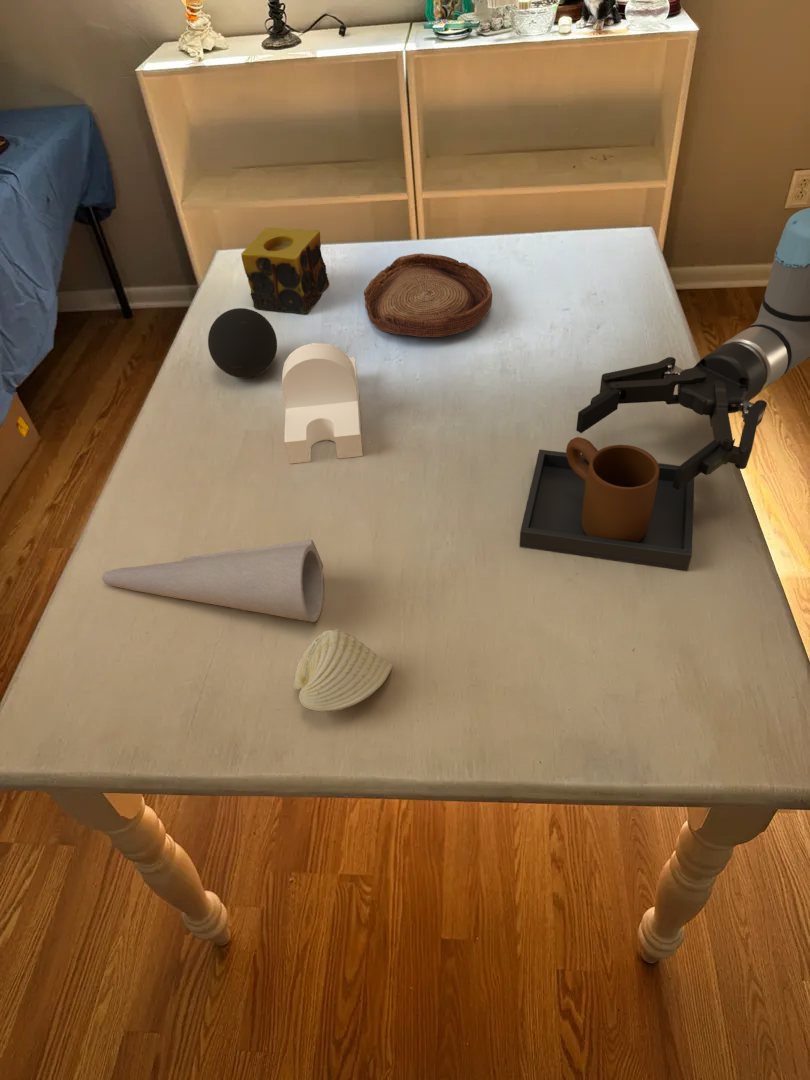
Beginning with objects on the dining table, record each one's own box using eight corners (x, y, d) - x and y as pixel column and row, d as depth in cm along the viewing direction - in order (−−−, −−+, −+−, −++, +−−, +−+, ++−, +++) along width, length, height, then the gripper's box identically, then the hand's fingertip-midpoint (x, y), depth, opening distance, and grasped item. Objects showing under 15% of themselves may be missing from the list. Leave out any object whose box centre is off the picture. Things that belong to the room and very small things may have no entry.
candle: (330, 285, 136) (321, 229, 129) (308, 316, 129) (298, 258, 122) (277, 280, 138) (265, 225, 131) (252, 310, 132) (239, 253, 125)
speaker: (204, 374, 120) (186, 315, 112) (257, 346, 124) (243, 288, 117) (242, 399, 114) (226, 340, 107) (295, 369, 119) (283, 310, 112)
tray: (687, 571, 86) (691, 555, 85) (519, 546, 91) (520, 531, 89) (690, 483, 96) (694, 467, 94) (538, 464, 100) (539, 449, 98)
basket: (347, 295, 133) (343, 268, 129) (454, 266, 137) (453, 238, 134) (397, 362, 118) (395, 333, 115) (515, 326, 123) (516, 298, 119)
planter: (63, 610, 83) (296, 591, 78) (90, 549, 89) (308, 528, 84) (98, 651, 89) (317, 636, 84) (121, 591, 94) (327, 574, 90)
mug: (540, 504, 94) (545, 443, 88) (586, 476, 97) (594, 415, 90) (614, 561, 87) (625, 500, 80) (661, 530, 90) (676, 468, 83)
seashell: (272, 661, 79) (325, 604, 79) (332, 702, 83) (383, 648, 83) (286, 705, 72) (344, 642, 72) (350, 747, 76) (406, 688, 76)
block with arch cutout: (362, 456, 104) (353, 387, 96) (289, 464, 104) (273, 395, 96) (357, 377, 116) (348, 311, 108) (292, 384, 116) (278, 318, 108)
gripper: (825, 440, 92) (715, 531, 83) (650, 356, 106) (541, 426, 97) (846, 387, 86) (732, 478, 78) (659, 306, 100) (545, 376, 92)
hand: (626, 450), depth 87 cm, fingers open, 13 cm apart
